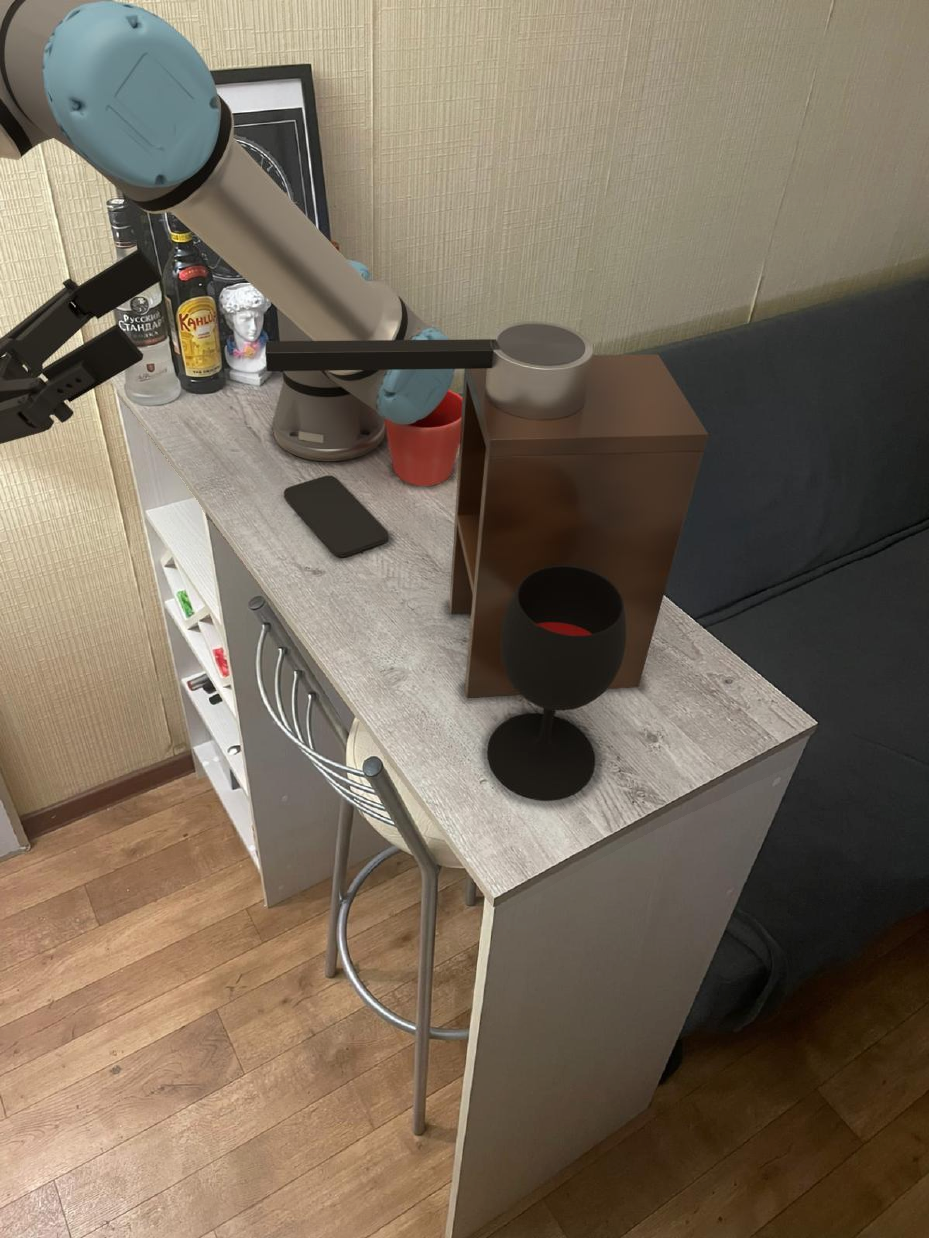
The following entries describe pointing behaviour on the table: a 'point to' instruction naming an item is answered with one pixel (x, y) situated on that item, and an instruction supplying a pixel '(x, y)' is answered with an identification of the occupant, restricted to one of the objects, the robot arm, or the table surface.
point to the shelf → (572, 503)
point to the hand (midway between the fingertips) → (141, 300)
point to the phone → (336, 516)
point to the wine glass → (556, 677)
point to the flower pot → (427, 443)
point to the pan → (469, 363)
